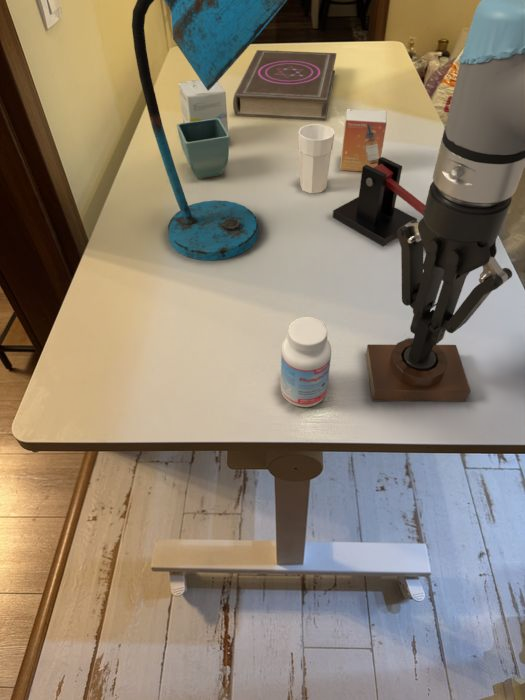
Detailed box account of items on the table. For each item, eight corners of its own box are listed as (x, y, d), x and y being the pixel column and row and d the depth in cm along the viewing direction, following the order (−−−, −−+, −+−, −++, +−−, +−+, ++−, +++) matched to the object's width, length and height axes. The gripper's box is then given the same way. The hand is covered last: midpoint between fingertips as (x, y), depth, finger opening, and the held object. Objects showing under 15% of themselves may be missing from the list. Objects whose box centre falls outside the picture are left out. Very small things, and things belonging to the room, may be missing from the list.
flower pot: (233, 178, 106) (230, 135, 99) (190, 186, 104) (185, 143, 97) (222, 159, 111) (218, 117, 105) (182, 166, 110) (176, 123, 103)
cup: (327, 196, 100) (332, 141, 92) (294, 193, 101) (295, 138, 93) (331, 179, 105) (336, 125, 96) (299, 176, 106) (301, 122, 97)
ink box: (230, 145, 115) (226, 90, 107) (193, 152, 114) (186, 96, 105) (219, 129, 121) (215, 75, 112) (184, 135, 119) (176, 81, 110)
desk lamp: (274, 270, 85) (274, -82, 52) (150, 252, 89) (76, -86, 56) (294, 216, 96) (304, -105, 63) (182, 203, 100) (135, -107, 66)
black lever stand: (415, 226, 93) (428, 170, 85) (382, 246, 89) (393, 189, 81) (365, 199, 99) (373, 145, 91) (332, 217, 95) (337, 162, 87)
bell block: (452, 355, 72) (459, 335, 69) (466, 401, 67) (474, 381, 64) (365, 355, 72) (369, 335, 69) (372, 400, 67) (376, 381, 64)
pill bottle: (303, 417, 65) (307, 358, 57) (271, 388, 69) (270, 329, 60) (336, 391, 68) (344, 331, 60) (304, 365, 71) (307, 305, 63)
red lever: (443, 220, 85) (450, 209, 83) (425, 232, 83) (430, 221, 81) (382, 172, 90) (386, 160, 88) (363, 182, 88) (367, 170, 86)
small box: (339, 171, 107) (344, 119, 99) (341, 157, 110) (346, 107, 103) (378, 173, 106) (387, 122, 98) (379, 160, 110) (387, 109, 102)
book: (325, 120, 123) (326, 98, 119) (233, 115, 126) (232, 94, 122) (334, 72, 143) (336, 52, 140) (255, 69, 146) (255, 49, 142)
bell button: (429, 353, 69) (432, 344, 68) (436, 377, 66) (439, 368, 65) (399, 353, 69) (401, 344, 68) (404, 376, 66) (407, 367, 65)
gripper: (391, 175, 51) (361, 340, 68) (512, 233, 44) (444, 400, 61) (438, 150, 54) (398, 314, 71) (557, 200, 47) (480, 368, 64)
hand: (419, 354), depth 66 cm, fingers closed
